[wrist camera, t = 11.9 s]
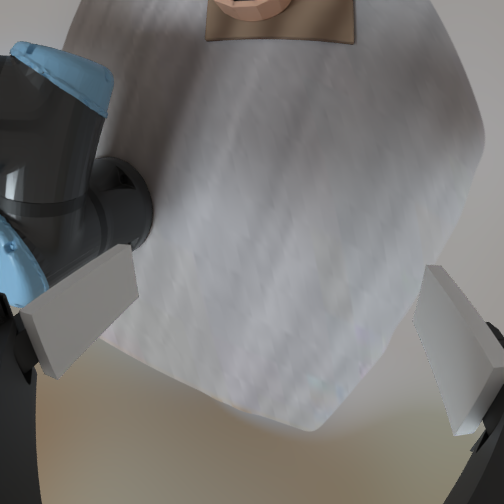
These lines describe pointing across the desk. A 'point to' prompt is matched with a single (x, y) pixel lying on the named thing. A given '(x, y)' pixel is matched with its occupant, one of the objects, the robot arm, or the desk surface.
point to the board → (288, 23)
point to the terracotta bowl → (252, 9)
